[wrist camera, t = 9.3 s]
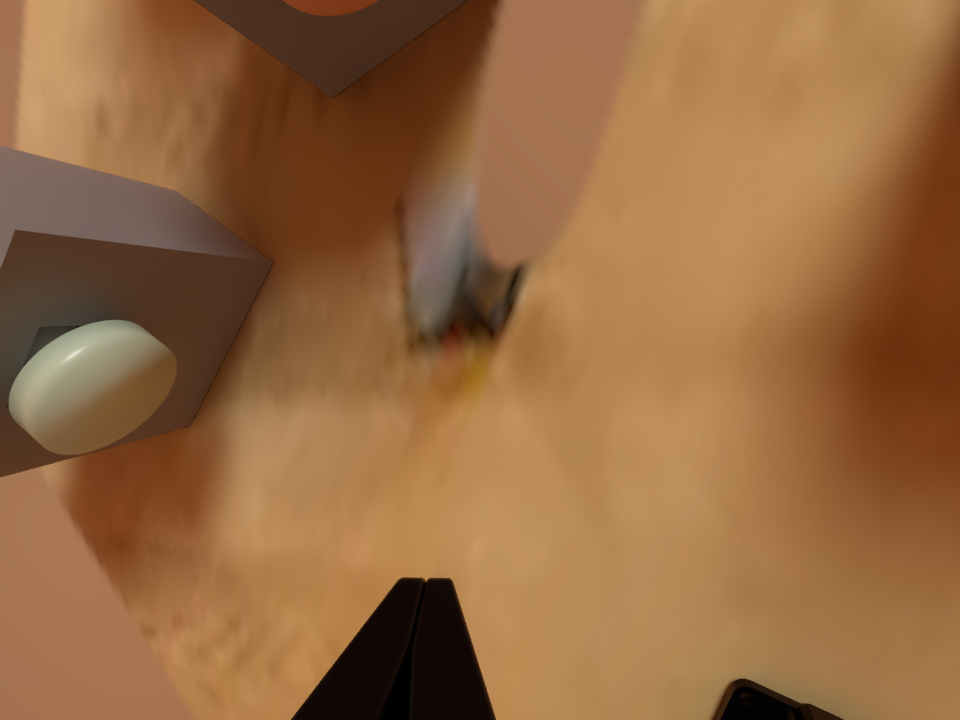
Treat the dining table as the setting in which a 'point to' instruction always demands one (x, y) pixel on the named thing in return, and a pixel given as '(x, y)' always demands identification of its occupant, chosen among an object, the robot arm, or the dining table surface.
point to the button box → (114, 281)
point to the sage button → (90, 384)
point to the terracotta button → (329, 6)
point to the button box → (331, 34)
